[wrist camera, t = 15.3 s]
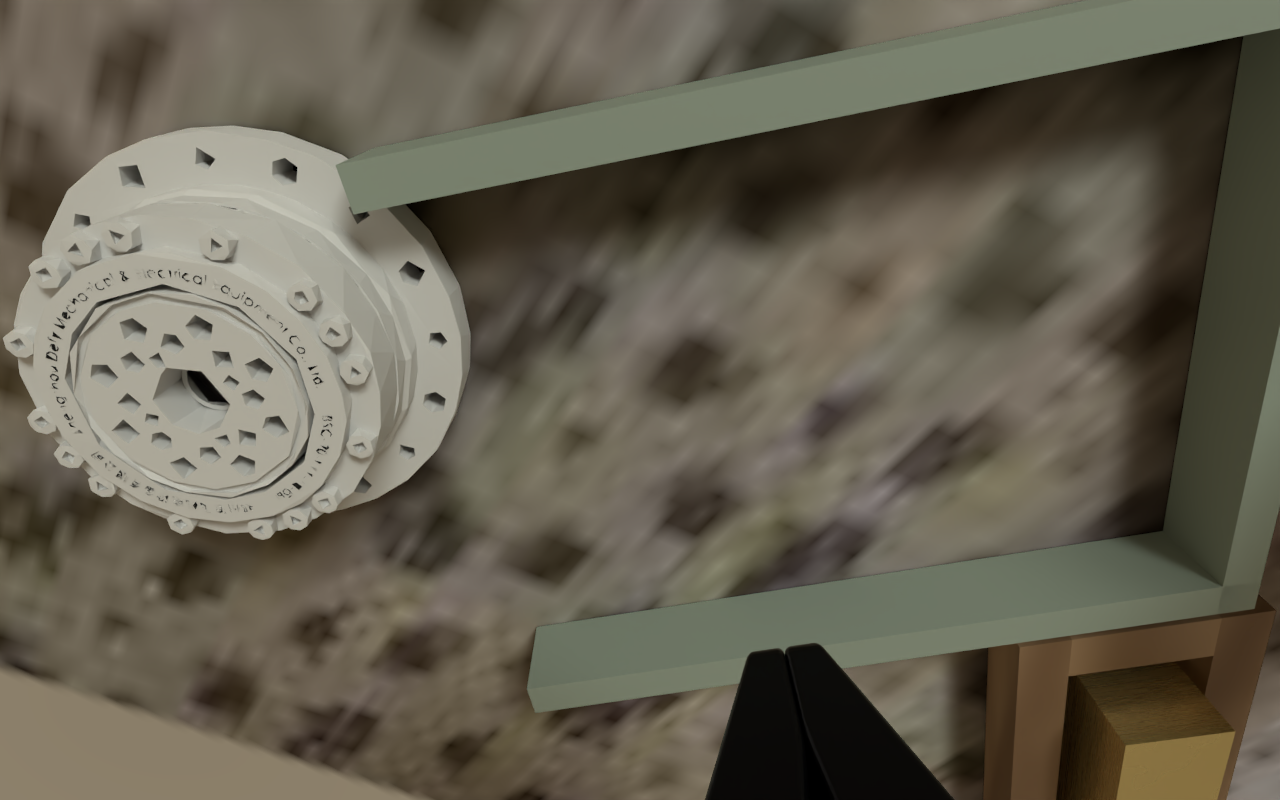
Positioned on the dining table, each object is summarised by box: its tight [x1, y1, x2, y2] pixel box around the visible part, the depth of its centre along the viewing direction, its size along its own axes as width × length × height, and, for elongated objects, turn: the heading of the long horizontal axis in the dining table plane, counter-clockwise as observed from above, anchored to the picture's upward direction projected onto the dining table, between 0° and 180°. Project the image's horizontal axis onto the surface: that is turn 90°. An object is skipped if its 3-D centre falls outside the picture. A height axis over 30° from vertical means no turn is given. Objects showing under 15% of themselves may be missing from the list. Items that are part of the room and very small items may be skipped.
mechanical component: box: [3, 126, 471, 540], centre depth 17 cm, size 10×4×10 cm
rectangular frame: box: [983, 595, 1276, 800], centre depth 25 cm, size 7×12×2 cm, turn 11°
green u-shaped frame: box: [336, 0, 1280, 713], centre depth 18 cm, size 20×16×2 cm
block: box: [1056, 661, 1236, 800], centre depth 24 cm, size 8×3×4 cm, turn 11°
